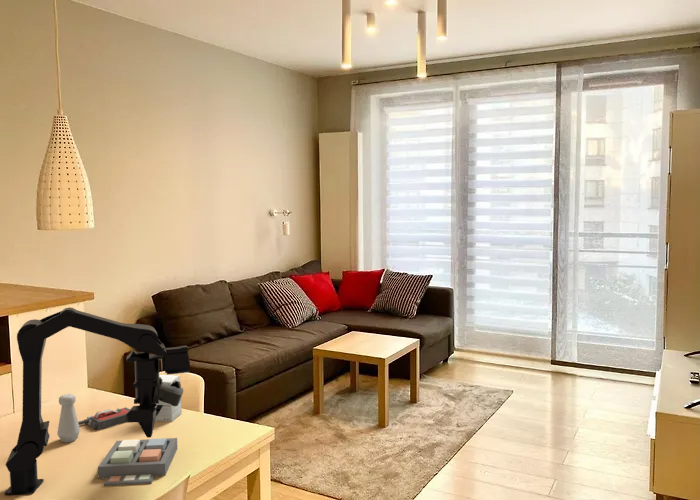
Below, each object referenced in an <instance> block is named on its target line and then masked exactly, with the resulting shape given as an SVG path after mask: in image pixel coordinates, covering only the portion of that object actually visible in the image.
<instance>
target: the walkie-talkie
mask: <svg viewBox="0 0 700 500" xmlns="http://www.w3.org/2000/svg"><path fill="white" fill-rule="evenodd" d="M130 409H131V408H128V407H122V408H120V407H116V409H114V410H112V409H111V408H108V409H104V410H100V411H96V413H95V414H93V415H90V416H89V415H88V416H87V417H86V419H84V420H80V421H79V420H78V424H79V426H81V425H84V424H85V425H87V426H88V427H92V429H93V430H95V429H96V430H98V431H100V430H105V429H107V428H112V427H114V426H118V425H121V424H124V423H125V424H126V423H127V422H126V414H127V413H128V411H129V410H130Z"/></svg>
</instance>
